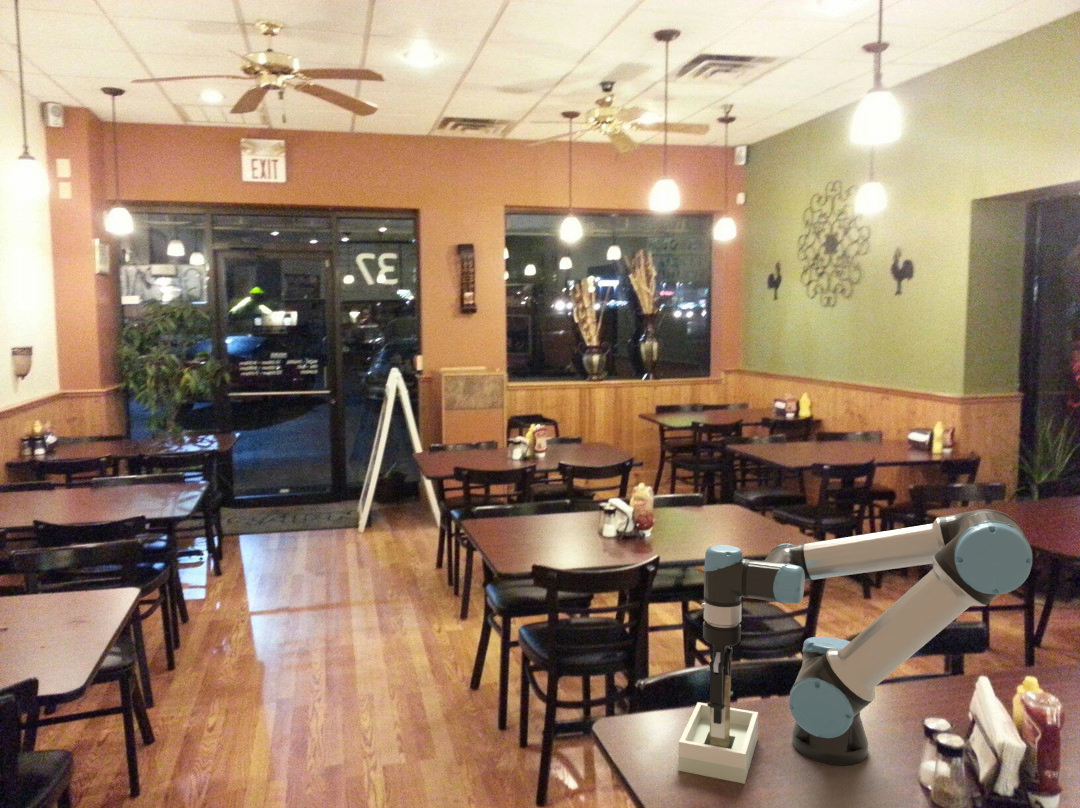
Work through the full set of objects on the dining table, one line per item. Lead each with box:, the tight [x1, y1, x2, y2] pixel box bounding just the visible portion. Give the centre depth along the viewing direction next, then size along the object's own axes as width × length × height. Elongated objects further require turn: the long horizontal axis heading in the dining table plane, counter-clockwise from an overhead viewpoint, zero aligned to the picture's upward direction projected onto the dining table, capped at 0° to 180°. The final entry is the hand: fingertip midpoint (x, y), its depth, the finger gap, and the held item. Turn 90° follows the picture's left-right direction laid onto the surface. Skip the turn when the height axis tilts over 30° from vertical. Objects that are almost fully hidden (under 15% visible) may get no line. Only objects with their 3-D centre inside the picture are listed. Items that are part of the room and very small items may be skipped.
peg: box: [710, 675, 732, 749], centre depth 171 cm, size 4×4×16 cm
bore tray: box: [678, 701, 759, 785], centre depth 171 cm, size 13×19×6 cm
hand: (719, 731), depth 171 cm, fingers closed on peg, 4 cm apart
